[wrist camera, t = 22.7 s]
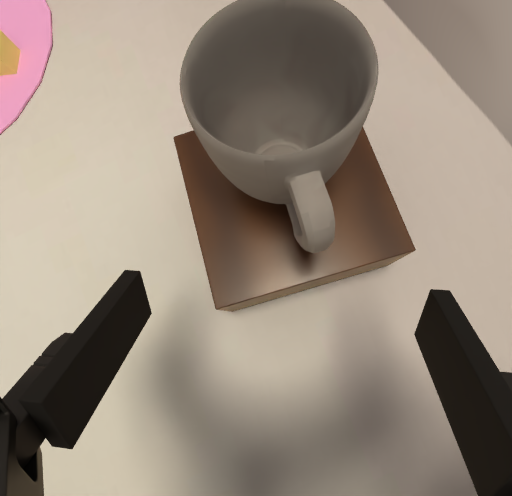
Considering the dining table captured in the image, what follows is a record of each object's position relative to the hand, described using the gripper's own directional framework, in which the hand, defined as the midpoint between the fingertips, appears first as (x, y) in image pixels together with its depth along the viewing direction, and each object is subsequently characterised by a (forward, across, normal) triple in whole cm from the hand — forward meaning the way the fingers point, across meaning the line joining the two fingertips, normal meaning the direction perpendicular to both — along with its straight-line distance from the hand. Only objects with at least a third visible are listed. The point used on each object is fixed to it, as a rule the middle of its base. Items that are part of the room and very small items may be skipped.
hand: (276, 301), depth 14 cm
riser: (+15, 0, -3) cm, 15 cm away
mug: (+10, 0, +1) cm, 11 cm away
